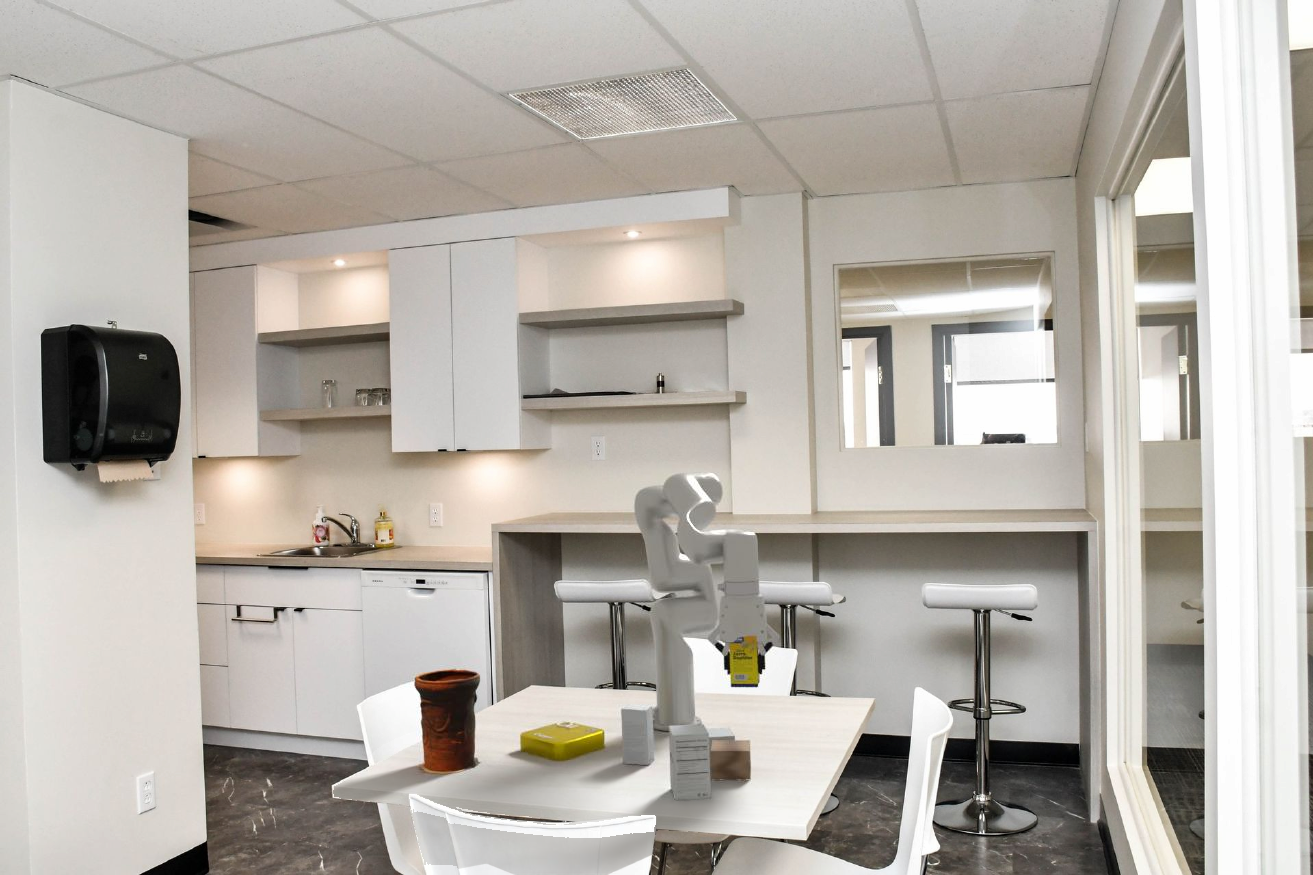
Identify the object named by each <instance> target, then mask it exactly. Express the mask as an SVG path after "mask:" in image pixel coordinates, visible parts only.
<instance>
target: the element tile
mask: <svg viewBox="0 0 1313 875" xmlns="http://www.w3.org/2000/svg"><path fill="white" fill-rule="evenodd" d="M519 737H520V740H519V741H520V752H521V753H523V754H527V755H532V756H535V757H537V758H543V759H547V760H551V761H553V762H564V761H568V760H572V759H576V758H578V757H581V756H584V755H587V754H591V753H593V752H597V751H600V750H603V749H605V747H606V744H605V743H606V741H605V730H604V729H602V728H598V727H594V726H588V725H584V724H579V723H576V722H572V721H568V720H567V721H566V720H565V721H559V722H557V723H552V724H548V725H545V726H541V727H537V728H534V729H530V730H526V731H524V732H521V733H520V736H519Z"/></svg>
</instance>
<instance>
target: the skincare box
mask: <svg viewBox="0 0 1313 875" xmlns="http://www.w3.org/2000/svg"><path fill="white" fill-rule="evenodd" d="M652 708H653V706H652V705H639V704H638V705H637V704H627V705H625V706H624V707H622V708H621V710H620V713H621V732H622V733H621V736H622V737H621V738H622V739H621V740H622V763H623V765H624V764H625V765H636V764H637V765H639V766H649V765H651V763H653V762H654V761H655V744H654V743H655V741H654V728H653V715H652Z"/></svg>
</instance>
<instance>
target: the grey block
mask: <svg viewBox="0 0 1313 875" xmlns="http://www.w3.org/2000/svg"><path fill="white" fill-rule="evenodd" d="M706 730H707V732H708V733H709V752H710V764H711V746H712V740H736V736H735V734H734V732H733V731H732V728H730V727H715V728H714V727H713V728H706Z"/></svg>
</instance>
